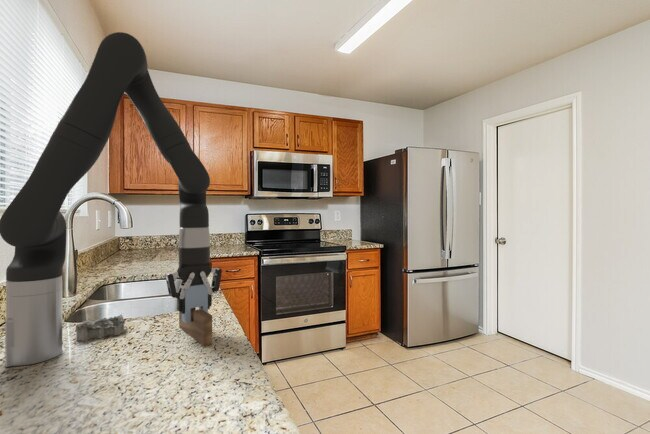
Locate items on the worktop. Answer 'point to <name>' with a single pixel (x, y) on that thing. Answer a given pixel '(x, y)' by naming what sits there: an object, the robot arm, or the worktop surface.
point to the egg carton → (100, 328)
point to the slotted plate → (198, 326)
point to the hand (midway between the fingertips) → (194, 310)
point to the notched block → (195, 300)
